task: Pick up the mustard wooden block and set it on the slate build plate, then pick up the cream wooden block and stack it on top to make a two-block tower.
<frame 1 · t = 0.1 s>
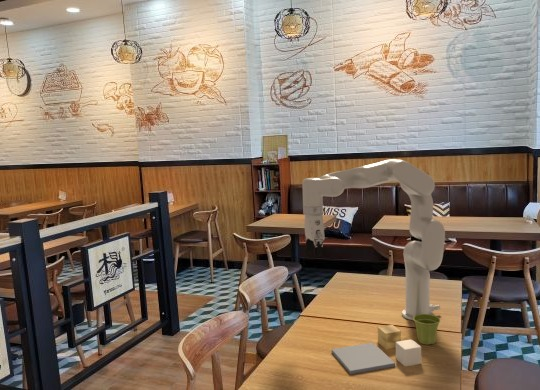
hand: (314, 254, 179), 31 cm above the table, tool pointing down, fingers open, 9 cm apart
plant pot: (426, 341, 171), on the table
cream block: (408, 361, 157), on the table
mustard block: (389, 344, 169), on the table
build plate: (362, 359, 159), on the table
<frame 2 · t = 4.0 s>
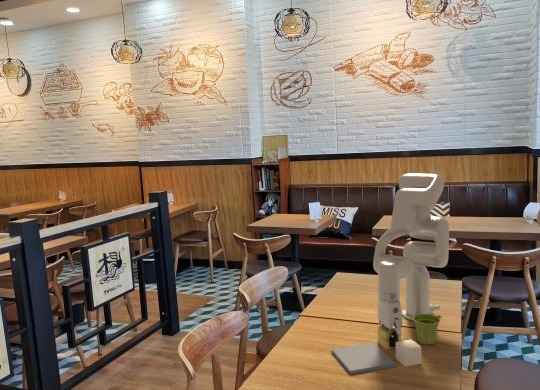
hand: (389, 342, 169), 1 cm above the table, tool pointing down, fingers closed on mustard block, 5 cm apart
mustard block: (389, 344, 169), on the table, touching gripper
everything else where it was.
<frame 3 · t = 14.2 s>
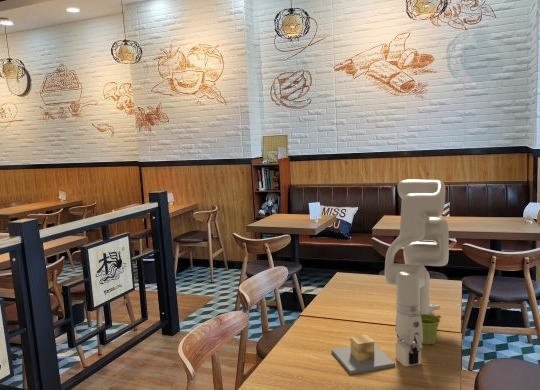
hand: (408, 358, 156), 1 cm above the table, tool pointing down, fingers closed on cream block, 6 cm apart
cream block: (408, 361, 157), on the table, touching gripper
mustard block: (362, 355, 159), point 1 cm above the table, touching build plate
everything else where it was.
when the fingers open (9 cm above the table, at t = 19.4 s): cream block stays where it is, resting on mustard block.
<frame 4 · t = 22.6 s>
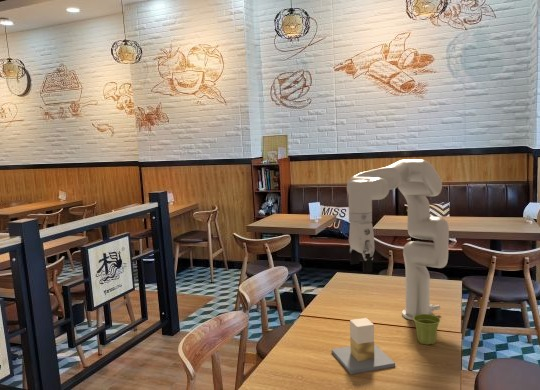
hand: (361, 267, 155), 32 cm above the table, tool pointing down, fingers open, 9 cm apart
cream block: (362, 339, 158), point 7 cm above the table, touching mustard block
mustard block: (362, 355, 159), point 1 cm above the table, touching build plate, cream block
everything else where it was.
at the end: mustard block 0.0 cm off-centre on the build plate, point 1.2 cm above the build plate's base; cream block 0.1 cm off-centre on the build plate, point 7.2 cm above the build plate's base; cream block tilted 0° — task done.
